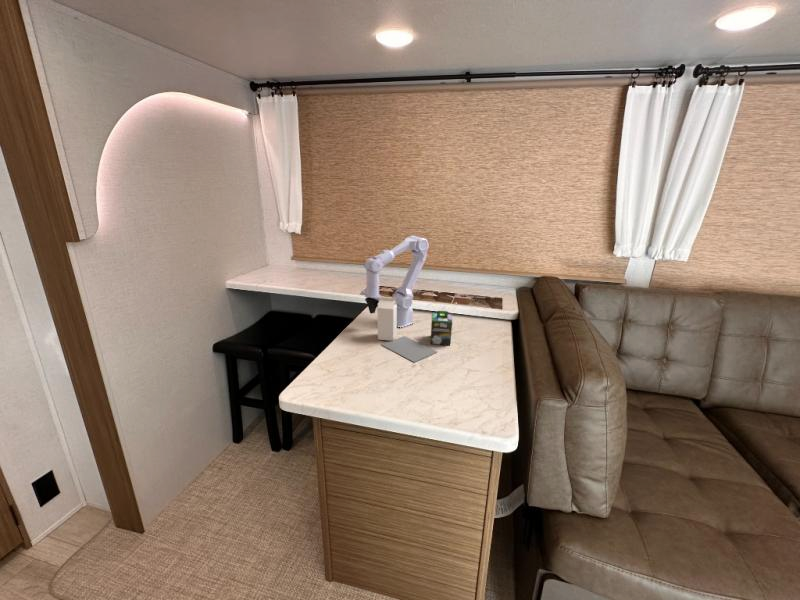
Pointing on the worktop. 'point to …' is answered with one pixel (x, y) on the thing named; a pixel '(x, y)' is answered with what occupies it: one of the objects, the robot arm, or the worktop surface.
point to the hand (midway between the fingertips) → (372, 312)
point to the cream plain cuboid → (387, 318)
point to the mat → (409, 349)
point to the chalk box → (441, 328)
